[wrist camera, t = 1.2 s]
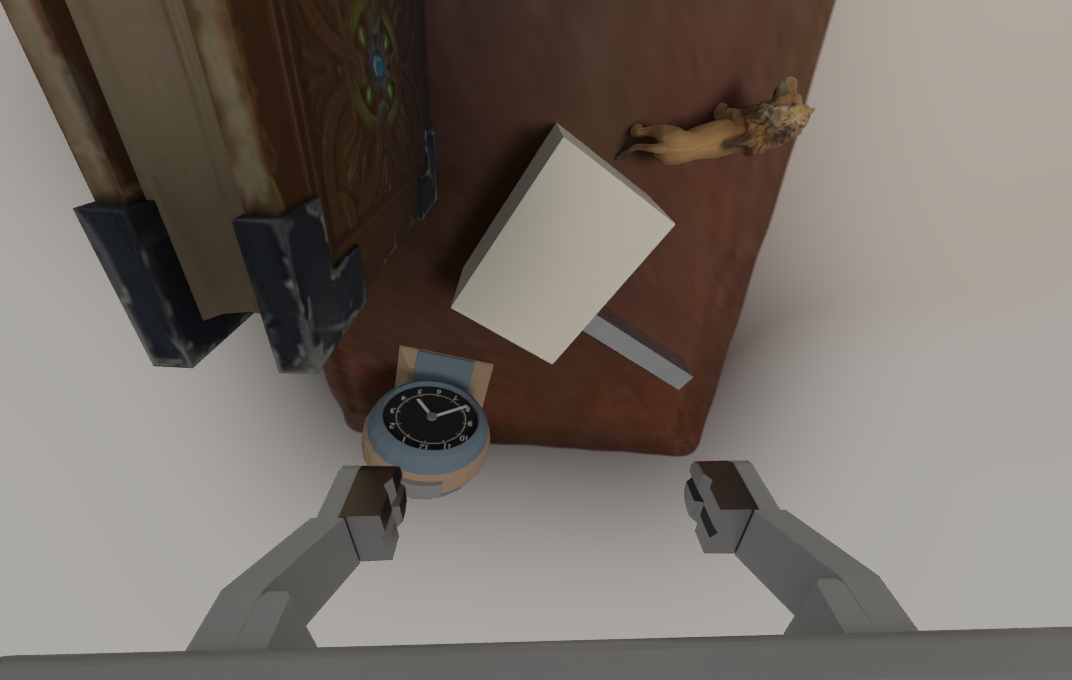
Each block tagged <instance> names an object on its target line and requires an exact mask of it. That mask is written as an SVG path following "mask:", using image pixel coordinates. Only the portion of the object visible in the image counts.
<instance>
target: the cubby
mask: <svg viewBox="0 0 1072 680" xmlns="http://www.w3.org/2000/svg"><path fill="white" fill-rule="evenodd" d="M674 225H675V223H674V222H673V221H672V220H671V219H670V218H669V217H668V216H667V215H666V214H665V213H664V211H663V210H662V209H661V208H660V207H659V206H658V205H657V204H656V203H655V202H654V201H653V200H652V199H651V198H650V197H649V195H647V194H646V193H645V192H644V191H642V190H641V189H640V188H639V187H637V186H636V185H635V184H633V183H632V182H631V181H630V180H628V179H627V178H626V177H625V176H623V175H622V174H621V173H620V172H618V171H617V170H616V169H615V168H613V167H612V166H611V165H609V164H608V163H607V162H606V161H604V160H603V159H602V158H601V157H599V156H598V155H597V154H596V153H594V152H593V151H592V150H590V149H589V148H588V147H587V146H585V145H584V144H583V143H582V142H580V141H579V140H578V139H577V138H575V137H574V136H573V135H571V134H570V133H569V132H568V131H566V130H565V129H564V128H563V127H561V126H560V125H559V124H558V123H556V124H555V125H554V127H553V128H552V130H551V131H550V133H549V134H548V136H547V138H546V139H545V141H544V142H543V144H542V145H541V147H540V149H539V150H538V152H537V153H536V155H535V156H534V158H533V159H532V161H531V163H530V164H529V166H528V167H527V169H526V170H525V172H524V173H523V175H522V177H521V178H520V180H519V181H518V183H517V184H516V186H515V187H514V189H513V191H512V192H511V194H510V195H509V197H508V198H507V200H506V202H505V203H504V205H503V206H502V208H501V209H500V211H499V212H498V214H497V216H496V217H495V219H494V220H493V222H492V223H491V225H490V226H489V228H488V230H487V231H486V233H485V234H484V236H483V237H482V239H481V240H480V242H479V244H478V245H477V247H476V248H475V250H474V251H473V253H472V254H471V256H470V258H469V259H468V261H467V262H466V264H465V265H464V267H463V270H462V273H461V276H460V280H459V283H458V286H457V289H456V292H455V296H454V299H453V302H452V305H451V308H452V309H454V310H456V311H457V312H459V313H461V314H463V315H465V316H466V317H468V318H470V319H472V320H474V321H475V322H477V323H479V324H481V325H483V326H484V327H486V328H488V329H490V330H492V331H493V332H495V333H497V334H499V335H501V336H502V337H504V338H506V339H508V340H510V341H511V342H513V343H515V344H517V345H519V346H520V347H522V348H524V349H526V350H527V351H529V352H531V353H533V354H535V355H536V356H538V357H540V358H542V359H544V360H545V361H547V362H549V363H551V364H553V363H554V362H555V361H556V360H557V359H558V357H559V356H560V355H561V354H562V353H563V352H564V351H565V349H566V348H567V347H568V346H569V345H570V344H571V343H572V342H573V340H574V339H575V338H576V337H577V336H578V335H579V334H580V332H581V331H582V330H583V329H584V328H585V327H586V326H587V324H588V323H589V322H590V321H591V320H592V319H593V318H594V316H595V315H596V314H597V313H598V312H599V311H600V310H601V308H602V307H603V306H604V305H605V304H606V303H607V302H608V300H609V299H610V298H611V297H612V296H613V295H614V294H615V293H616V291H617V290H618V289H619V288H620V287H621V286H622V285H623V283H624V282H625V281H626V280H627V279H628V278H629V277H630V275H631V274H632V273H633V272H634V271H635V270H636V269H637V267H638V266H639V265H640V264H641V263H642V262H643V261H644V259H645V258H646V257H647V256H648V255H649V254H650V253H651V252H652V250H653V249H654V248H655V247H656V246H657V245H658V244H659V242H660V241H661V240H662V239H663V238H664V237H665V236H666V234H667V233H668V232H669V231H670V230H671V229H672V228H673V226H674Z"/></svg>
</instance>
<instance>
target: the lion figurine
mask: <svg viewBox="0 0 1072 680" xmlns="http://www.w3.org/2000/svg"><path fill="white" fill-rule="evenodd" d="M796 89H797V81H796V78H794V77H788V78H786V79H785V80H783V81H781V82H780V83H779V84H778V85H777V88H776V89H775V91H774V93H773V97H772V99H771V100H765V101H761V102H760V103H759V104H754V105H751V106H748V107H744V108H743V109H736V108H729V107H728V106H727V104H726V103H723V102H722V103H720V104H719V105H718V106H717V107H716V109H715V110H714V118H715V119H717V120H715V121H712V122H709V123H706V124H702V125H699V126H696V127H694V128H692V129H690V130H688V131H684V130H683V129H681V128H679V127H677V126H674V125H666V124H660V125H654V126H649V127H643V126H642V125H641V124H639V123H638V124H635V125H633V126H632V127H631V131H630V132H631V136H632V137H644V136H651V137H655V139H656V140H657V141H658V143H657V144H635V145H633V146H631V147H630V148H629V149H628V150H626V151H623V152H621V154H620V155H618V157H617V160H618V161H621V160H623V159H625V158H627V157H629V156H630V154H631V153H632V152H634V151H635V150H644V151H648V152H653V153H654V156H655V157H656V158H657V159H660V160H661V162H662V163H663V164H666V165H678V164H682V163H686V162H689V161H692V160H697V159H710V158H718V157H723V156H727V155H730V154H734V153H735V154H744V155H746V156H753V155H760V154H762V153H763V152H764V151H767V150H772V149H773V148H775V147H777V148H778V147H780V146H782V144H783V143H786V142H788V141H789V140H791V139H793V138H795V137H796V136H797V135H800V134H801V133H802V129H803V128H804V127H805V126H806V125H807V123H808V121H809V118H810V116H811V113H813V112H814V111H815V108H810V107H809V106H807V105H806V104H803V102H802V97H801V96H800V95H799V94H797V92H796Z"/></svg>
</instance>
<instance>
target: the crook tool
mask: <svg viewBox="0 0 1072 680" xmlns="http://www.w3.org/2000/svg"><path fill="white" fill-rule="evenodd" d="M583 331H585V332H586V333H588V334H589V335H591V336H593V337H594V338H596V339H598V340H599V341H601V342H602V343H604V344H606V345H607V346H609V347H610V348H612V349H614V350H615V351H617V352H619V353H620V354H622V355H623V356H625V357H627V358H628V359H630V360H631V361H633V362H635V363H636V364H638V365H640V366H641V367H643V368H644V369H646V370H648V371H649V372H651V373H653V374H654V375H656V376H657V377H659V378H661V379H662V380H664V381H665V382H667V383H669V384H670V385H672V386H674V387H675V388H677V389H678V390H679V389H680V388H681V387H683V386H684V385H685V384H686V383H687V382H688V381H689V380H691V379H692V378H693V375H692V374H691V372H690V370H689V368H688V366H687V364H686V362H685V360H684V359H683V358H682V357H681V356H679V355H677V354H676V353H674V352H673V351H671V350H670V349H668V348H667V347H665V346H664V345H662V344H661V343H659V342H658V341H656V340H655V339H653V338H652V337H650V336H649V335H647V334H645V333H644V332H642V331H641V330H639V329H638V328H636V327H635V326H633V325H632V324H630V323H629V322H627V321H626V320H624V319H623V318H621V317H620V316H618V315H617V314H615V313H614V312H612V311H610V310H609V309H607V308H606V307H604V306H603V307H602V308H601V310H600V311H599V312H598V313H597V314H596V315H595V316H594V318H593V319H592V320H591V321H590V322H589V323H588V324H587V326H586V327H585V328H584V329H583Z"/></svg>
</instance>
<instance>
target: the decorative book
mask: <svg viewBox="0 0 1072 680" xmlns="http://www.w3.org/2000/svg"><path fill="white" fill-rule="evenodd" d="M0 2H1V4H2V6H3V8H4V10H5V12H6V14H7V16H8V18H9V21H10V23H11V25H12V27H13V29H14V31H15V33H16V35H17V37H18V39H19V42H20V44H21V46H22V48H23V50H24V52H25V54H26V56H27V58H28V61H29V63H30V65H31V67H32V69H33V71H34V73H35V75H36V77H37V79H38V81H39V84H40V86H41V88H42V90H43V92H44V94H45V96H46V98H47V100H48V103H49V105H50V107H51V109H52V111H53V113H54V115H55V117H56V119H57V121H58V124H59V126H60V128H61V130H62V132H63V134H64V136H65V138H66V140H67V143H68V145H69V147H70V149H71V151H72V153H73V155H74V157H75V159H76V161H77V163H78V166H79V168H80V170H81V172H82V174H83V176H84V178H85V180H86V182H87V185H88V187H89V189H90V191H91V193H92V195H93V197H94V199H95V202H92V203H88V204H85V205H82V206H79V207H76V208H73V210H74V212H75V214H76V216H77V218H78V220H79V222H80V224H81V226H82V228H83V229H84V231H85V233H86V235H87V237H88V239H89V241H90V243H91V245H92V247H93V249H94V251H95V253H96V255H97V256H98V259H99V261H100V263H101V264H102V266H103V268H104V270H105V272H106V274H107V276H108V278H109V280H110V282H111V284H112V286H113V288H114V290H115V292H116V294H117V296H118V298H119V300H120V302H121V304H122V305H123V307H124V309H125V311H126V313H127V315H128V317H129V319H130V321H131V323H132V325H133V327H134V329H135V331H136V333H137V335H138V337H139V339H140V341H141V343H142V344H143V346H144V348H145V350H146V352H147V354H148V356H149V358H150V360H151V362H152V364H153V366H163V367H182V368H193V367H194V366H196V365H197V364H198V363H199V362H200V361H201V360H202V359H203V358H204V357H206V356H207V355H208V354H209V353H210V352H211V351H212V350H213V349H214V348H215V347H217V346H218V345H219V344H220V343H221V342H222V341H223V340H224V339H226V338H227V337H228V336H229V335H230V334H231V333H232V332H233V331H234V330H236V329H237V328H238V327H239V326H240V325H241V324H242V323H243V322H244V321H246V320H247V318H249V317H250V316H251V315H252V314H253V313H260V314H261V317H262V320H263V323H264V326H265V330H266V333H267V336H268V339H269V342H270V345H271V348H272V352H273V355H274V358H275V361H276V364H277V368H278V371H279V373H293V374H311V375H317V374H318V373H319V371H320V370H321V368H322V367H323V365H324V364H325V362H326V361H327V360H328V358H329V357H330V355H331V354H332V352H333V351H334V349H335V348H336V346H337V345H338V343H339V342H340V341H341V339H342V338H343V336H344V335H345V333H346V332H347V330H348V329H349V327H350V326H351V324H352V323H353V322H354V320H355V319H356V317H357V316H358V314H359V313H360V311H361V310H362V308H363V307H364V305H365V304H366V303H367V301H368V298H367V291H366V290H367V288H368V287H369V286H370V284H371V283H372V281H373V280H374V279H375V277H376V276H377V275H378V273H379V272H380V270H381V269H382V268H383V266H384V265H385V264H386V262H387V261H388V259H389V258H390V257H391V255H392V254H393V252H394V251H395V250H396V248H397V247H398V246H399V244H400V243H401V241H402V240H403V239H404V237H405V236H406V234H407V233H408V232H409V230H410V229H411V228H412V226H413V225H414V223H415V222H416V221H417V219H418V220H423V219H424V217H425V216H426V214H427V213H428V211H429V210H430V209H431V207H432V206H433V204H434V203H435V201H436V200H437V183H436V161H435V139H434V125H431V122H430V102H429V82H428V62H427V42H426V23H425V3H424V0H0Z"/></svg>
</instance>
